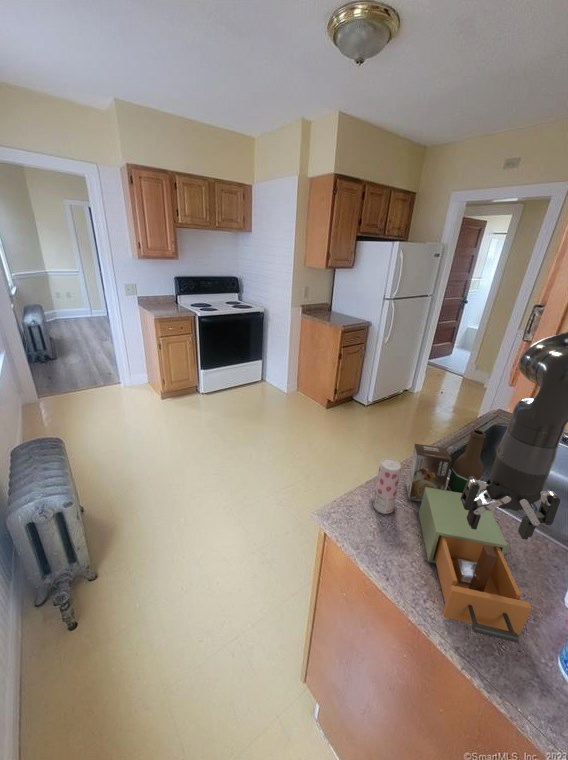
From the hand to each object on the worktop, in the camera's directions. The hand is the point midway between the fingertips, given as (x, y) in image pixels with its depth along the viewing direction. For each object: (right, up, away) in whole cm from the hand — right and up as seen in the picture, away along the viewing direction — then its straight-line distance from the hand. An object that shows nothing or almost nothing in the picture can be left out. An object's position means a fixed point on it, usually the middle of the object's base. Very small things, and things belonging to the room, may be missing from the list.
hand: (496, 530), depth 60 cm
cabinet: (+3, -13, +21) cm, 25 cm away
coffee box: (+2, -7, +37) cm, 38 cm away
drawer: (-1, -18, +7) cm, 19 cm away
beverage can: (-12, -8, +32) cm, 35 cm away
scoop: (0, -16, +9) cm, 18 cm away
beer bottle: (+12, -8, +35) cm, 38 cm away
